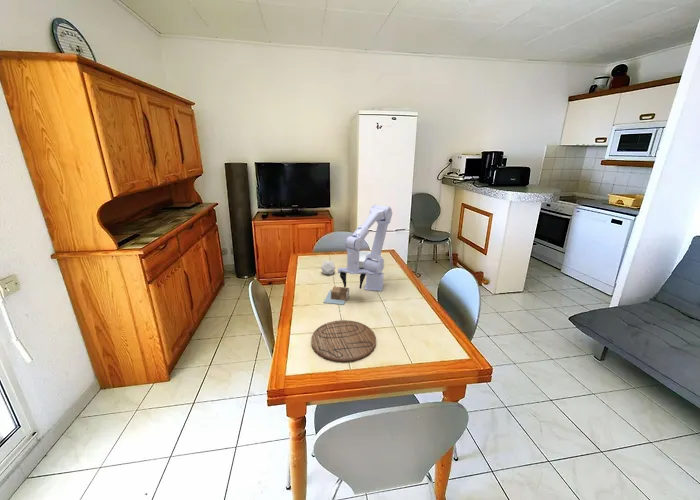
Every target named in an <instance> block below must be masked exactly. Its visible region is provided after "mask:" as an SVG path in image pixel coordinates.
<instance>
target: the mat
mask: <svg viewBox="0 0 700 500" xmlns="http://www.w3.org/2000/svg"><path fill="white" fill-rule="evenodd" d="M331 291H332V289H329V291H328V292H327V295H326V297H325V298H324V301H323V304H329V305H341V306H344V305H345V303H346V301H347V300H336V299H331Z"/></svg>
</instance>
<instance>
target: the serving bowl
mask: <svg viewBox="0 0 700 500" xmlns="http://www.w3.org/2000/svg"><path fill="white" fill-rule="evenodd" d="M371 251H372V250H359V269H364V268H363V262H364V260H365V258H366V256H367V255H369V254H370V253H371ZM381 257H382V258H383V255H382V254H381ZM372 260H375V259H372ZM375 261H377V260H375Z"/></svg>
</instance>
